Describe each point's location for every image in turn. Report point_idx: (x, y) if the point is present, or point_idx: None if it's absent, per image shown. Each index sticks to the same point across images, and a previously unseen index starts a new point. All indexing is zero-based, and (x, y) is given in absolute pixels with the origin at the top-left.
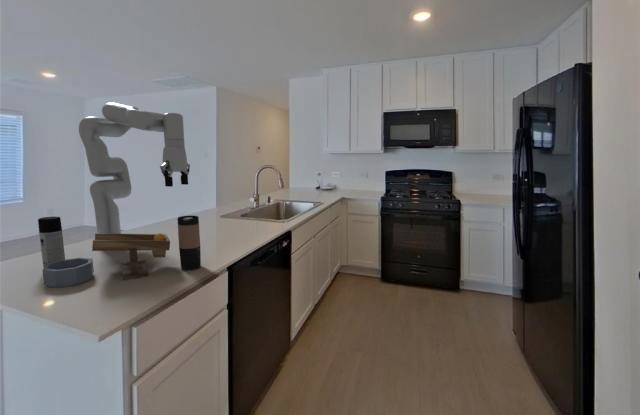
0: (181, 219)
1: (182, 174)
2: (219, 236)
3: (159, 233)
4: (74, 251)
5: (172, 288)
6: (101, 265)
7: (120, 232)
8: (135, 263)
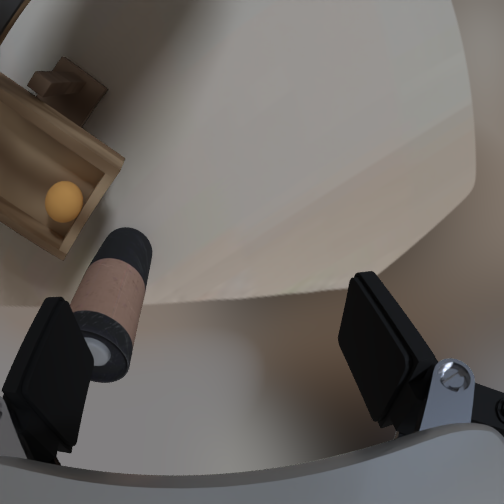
0: None
1: (411, 396)
2: (441, 133)
3: (56, 209)
4: None
5: (35, 294)
6: (51, 7)
7: None
8: None
